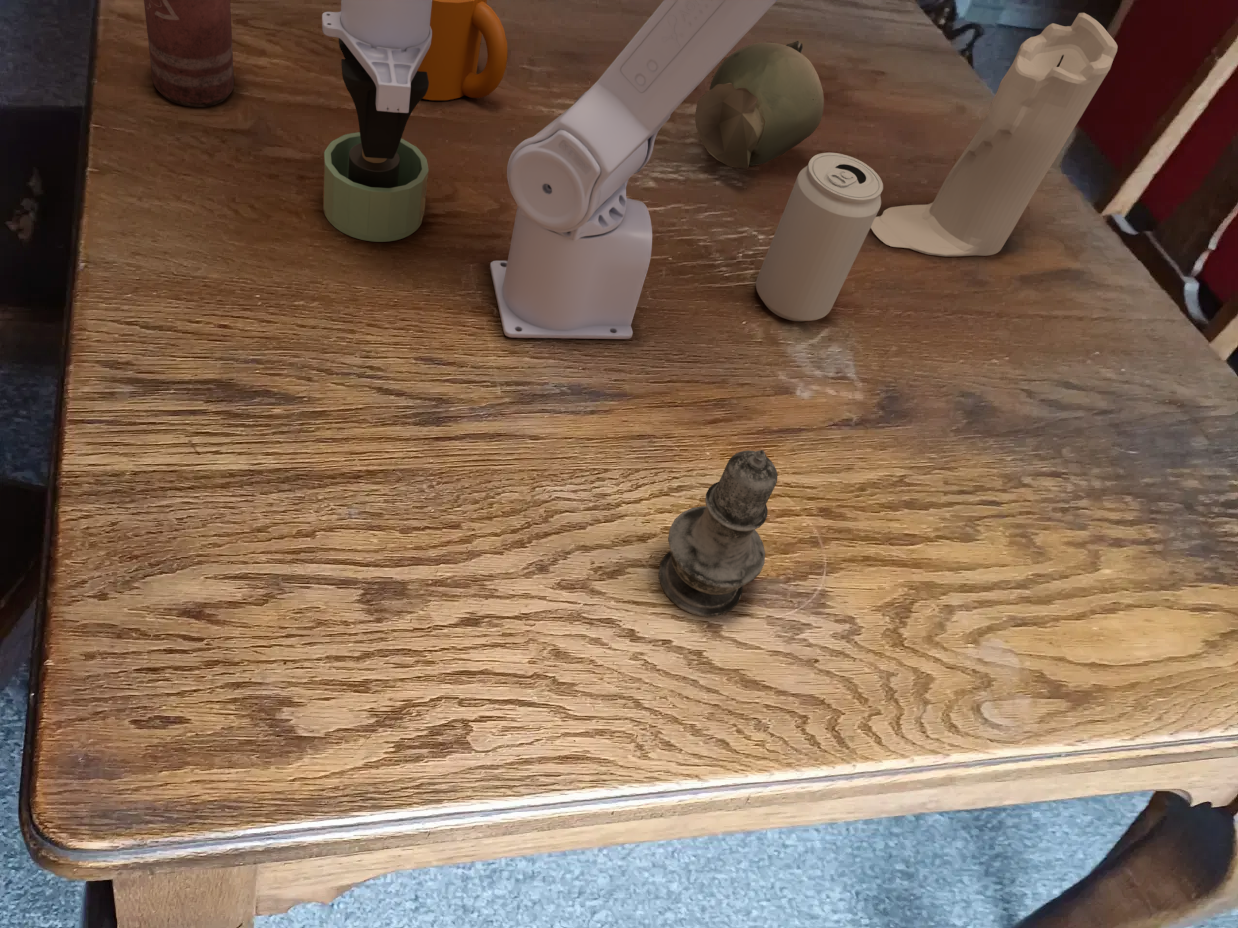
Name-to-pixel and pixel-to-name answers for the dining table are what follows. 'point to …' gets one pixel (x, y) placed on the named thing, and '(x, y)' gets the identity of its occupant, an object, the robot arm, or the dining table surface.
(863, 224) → the beverage can
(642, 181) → the dining table surface
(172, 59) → the can
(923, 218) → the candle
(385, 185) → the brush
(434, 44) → the mug
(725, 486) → the chess piece
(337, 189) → the pot
